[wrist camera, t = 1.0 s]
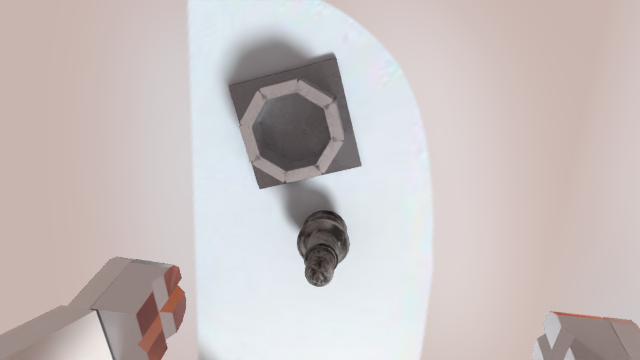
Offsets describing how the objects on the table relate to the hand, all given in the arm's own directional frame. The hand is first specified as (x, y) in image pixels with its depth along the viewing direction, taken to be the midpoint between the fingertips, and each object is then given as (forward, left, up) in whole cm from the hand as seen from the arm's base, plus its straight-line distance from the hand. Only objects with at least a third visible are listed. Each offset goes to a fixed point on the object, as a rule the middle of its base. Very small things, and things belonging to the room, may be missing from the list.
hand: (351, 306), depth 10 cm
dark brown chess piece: (-13, +6, -39) cm, 42 cm away
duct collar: (0, +6, -39) cm, 39 cm away
